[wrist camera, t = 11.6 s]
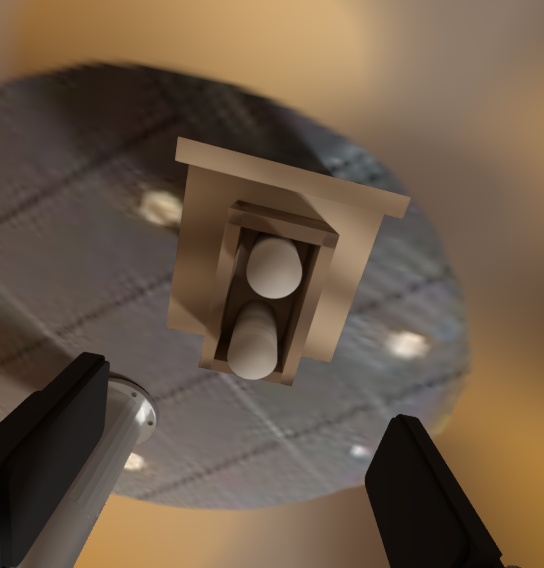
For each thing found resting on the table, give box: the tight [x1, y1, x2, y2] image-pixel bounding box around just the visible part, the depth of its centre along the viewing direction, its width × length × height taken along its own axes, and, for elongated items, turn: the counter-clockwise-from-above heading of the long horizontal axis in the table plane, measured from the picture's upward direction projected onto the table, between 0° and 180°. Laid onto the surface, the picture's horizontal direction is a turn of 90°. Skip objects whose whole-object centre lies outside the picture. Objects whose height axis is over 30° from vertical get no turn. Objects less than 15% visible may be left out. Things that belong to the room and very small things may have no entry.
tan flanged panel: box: [166, 137, 411, 362], centre depth 28 cm, size 13×13×20 cm
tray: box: [199, 200, 340, 386], centre depth 19 cm, size 10×6×6 cm, turn 166°
